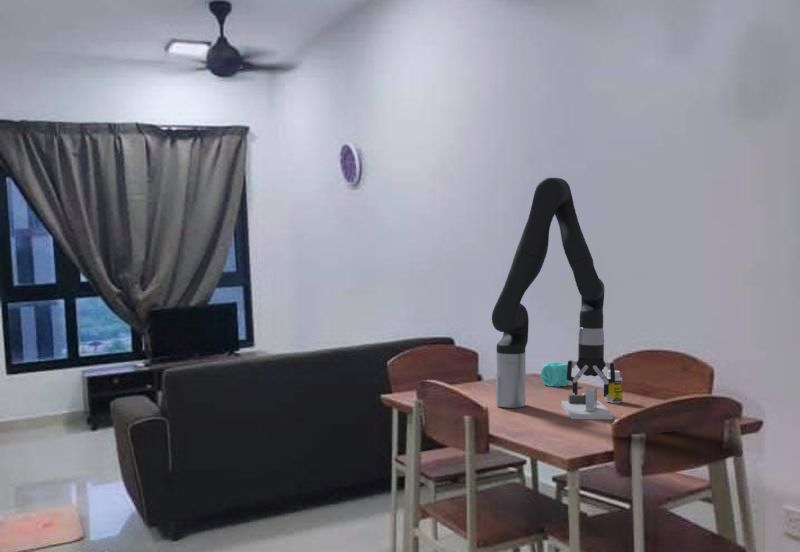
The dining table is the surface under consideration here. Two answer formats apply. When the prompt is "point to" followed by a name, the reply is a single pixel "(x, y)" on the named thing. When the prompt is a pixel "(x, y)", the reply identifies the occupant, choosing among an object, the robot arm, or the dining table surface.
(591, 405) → the white orange box
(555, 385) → the decorative dice
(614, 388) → the supplement bottle
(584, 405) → the base
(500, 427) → the dining table surface
